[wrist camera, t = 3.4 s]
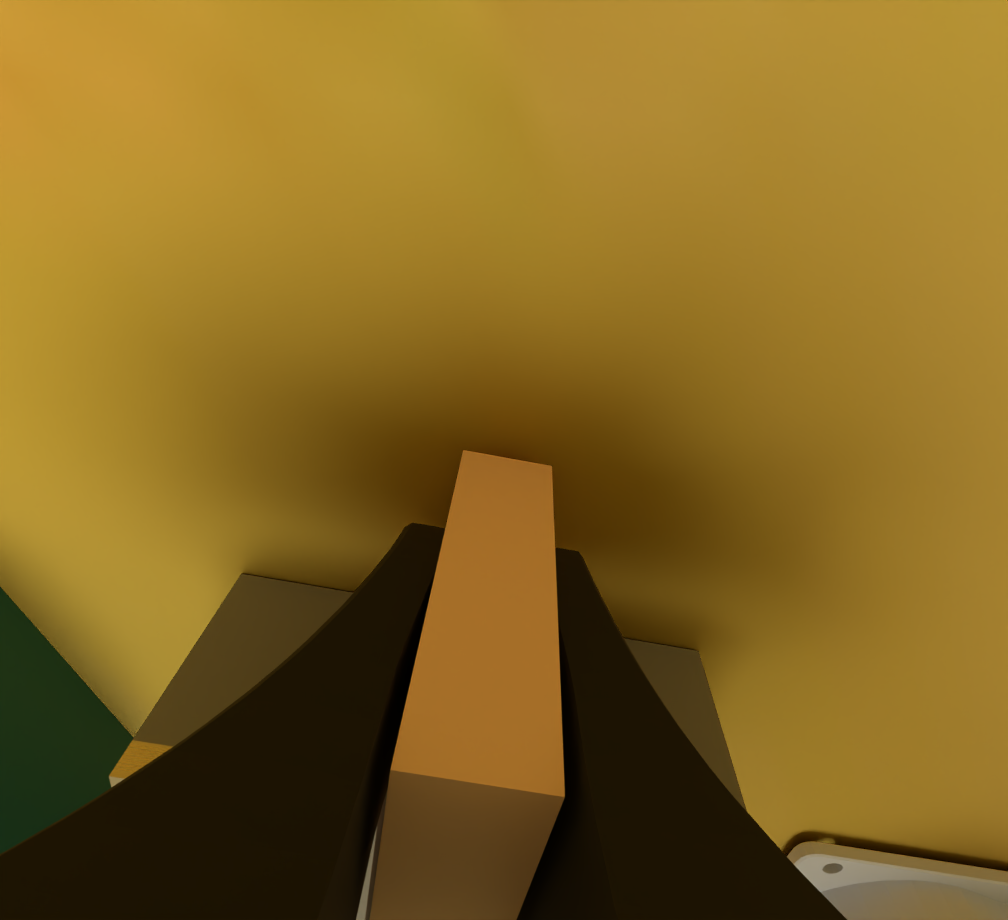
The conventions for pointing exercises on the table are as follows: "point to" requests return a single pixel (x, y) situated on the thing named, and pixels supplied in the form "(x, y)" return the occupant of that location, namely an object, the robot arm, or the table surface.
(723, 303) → the table surface
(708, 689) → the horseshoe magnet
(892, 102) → the table surface
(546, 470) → the orange wooden slat
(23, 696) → the bracket
